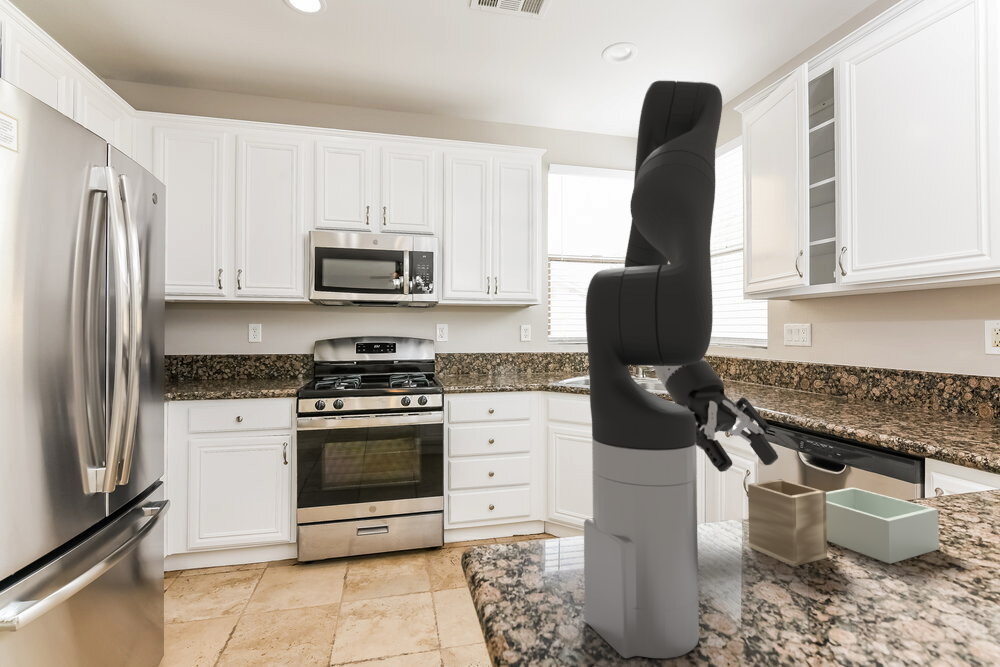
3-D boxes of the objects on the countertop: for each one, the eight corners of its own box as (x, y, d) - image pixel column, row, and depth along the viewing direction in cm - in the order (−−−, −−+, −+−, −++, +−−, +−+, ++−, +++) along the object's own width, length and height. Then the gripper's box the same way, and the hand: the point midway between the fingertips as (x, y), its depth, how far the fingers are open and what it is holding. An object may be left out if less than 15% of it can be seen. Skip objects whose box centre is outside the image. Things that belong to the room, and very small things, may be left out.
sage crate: (889, 563, 57) (888, 521, 57) (805, 532, 66) (805, 496, 67) (939, 549, 61) (938, 509, 61) (853, 521, 70) (852, 487, 70)
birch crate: (793, 566, 57) (792, 498, 57) (749, 547, 62) (748, 484, 62) (827, 557, 59) (825, 491, 59) (781, 539, 64) (780, 479, 65)
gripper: (661, 359, 71) (727, 454, 60) (733, 357, 77) (804, 444, 66) (638, 392, 76) (695, 486, 65) (707, 388, 81) (770, 474, 71)
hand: (750, 465), depth 65 cm, fingers open, 8 cm apart
